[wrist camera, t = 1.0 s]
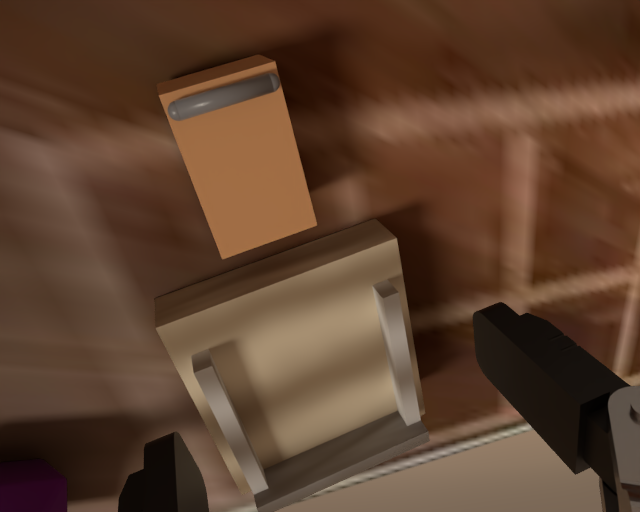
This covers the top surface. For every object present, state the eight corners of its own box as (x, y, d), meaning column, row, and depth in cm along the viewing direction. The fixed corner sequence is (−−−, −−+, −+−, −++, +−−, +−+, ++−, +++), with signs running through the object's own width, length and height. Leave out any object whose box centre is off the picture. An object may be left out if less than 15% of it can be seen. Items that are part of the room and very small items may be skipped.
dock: (154, 298, 28) (156, 357, 23) (375, 218, 30) (417, 257, 26) (234, 460, 36) (248, 528, 31) (406, 386, 38) (443, 439, 33)
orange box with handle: (156, 82, 23) (159, 98, 19) (256, 53, 24) (279, 63, 20) (212, 227, 27) (224, 266, 23) (295, 198, 28) (322, 231, 24)
